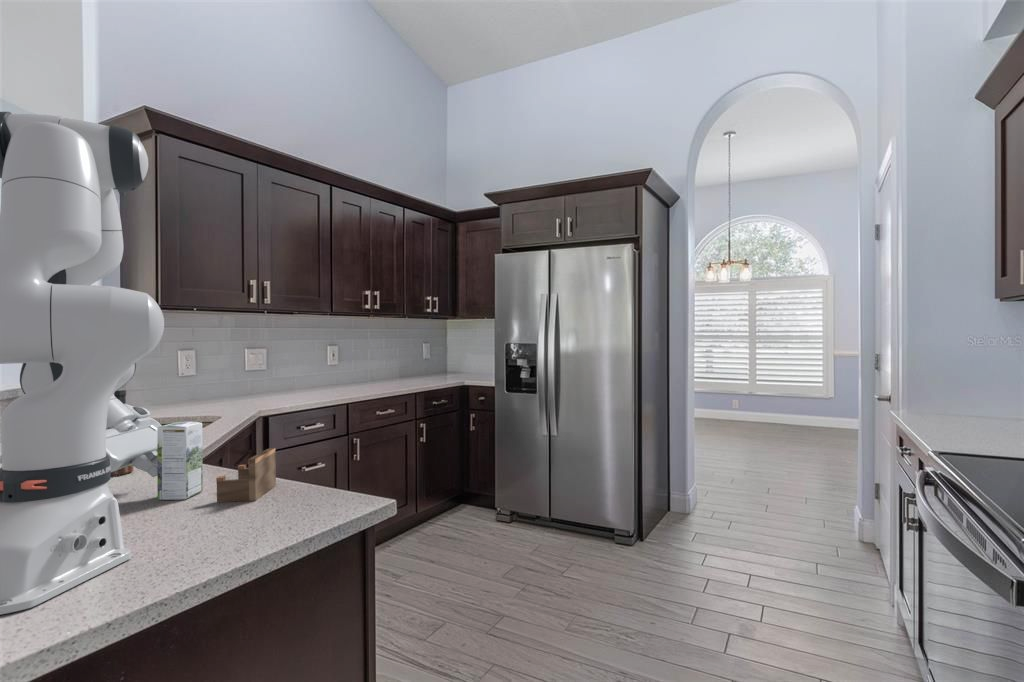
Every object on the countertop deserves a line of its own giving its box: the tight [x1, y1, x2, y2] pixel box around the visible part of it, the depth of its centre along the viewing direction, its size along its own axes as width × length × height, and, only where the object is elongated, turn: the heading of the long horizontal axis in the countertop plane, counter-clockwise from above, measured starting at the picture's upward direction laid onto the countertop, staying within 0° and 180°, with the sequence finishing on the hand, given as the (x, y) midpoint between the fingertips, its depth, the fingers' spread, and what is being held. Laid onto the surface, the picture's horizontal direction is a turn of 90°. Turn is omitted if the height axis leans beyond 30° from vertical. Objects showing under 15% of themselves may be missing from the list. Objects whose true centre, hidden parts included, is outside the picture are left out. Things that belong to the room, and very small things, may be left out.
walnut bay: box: [216, 447, 277, 503], centre depth 107 cm, size 11×7×8 cm
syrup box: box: [156, 421, 204, 501], centre depth 106 cm, size 6×6×14 cm
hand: (161, 472), depth 106 cm, fingers closed
